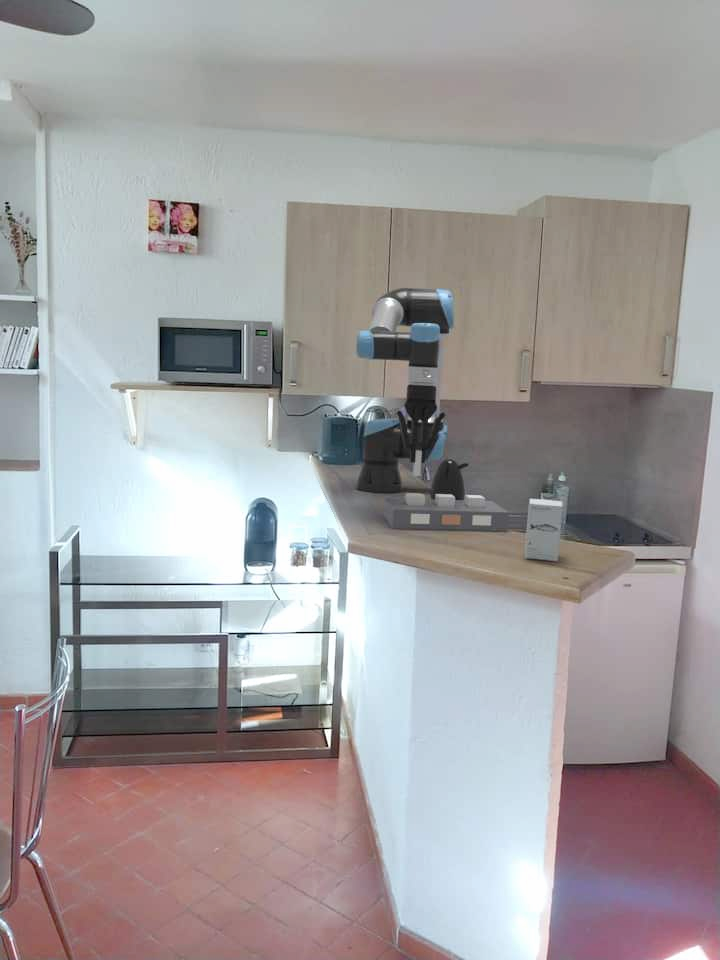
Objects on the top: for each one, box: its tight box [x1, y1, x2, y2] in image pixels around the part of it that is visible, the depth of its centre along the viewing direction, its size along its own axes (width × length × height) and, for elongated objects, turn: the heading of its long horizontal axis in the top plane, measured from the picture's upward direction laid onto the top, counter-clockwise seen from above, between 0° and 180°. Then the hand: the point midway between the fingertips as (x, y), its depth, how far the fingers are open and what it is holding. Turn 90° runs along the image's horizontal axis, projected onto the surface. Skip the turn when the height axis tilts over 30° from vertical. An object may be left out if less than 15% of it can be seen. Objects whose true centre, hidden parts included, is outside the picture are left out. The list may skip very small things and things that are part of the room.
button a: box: [404, 492, 426, 506], centre depth 208 cm, size 4×4×4 cm
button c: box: [464, 494, 486, 508], centre depth 210 cm, size 4×4×4 cm
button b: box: [435, 494, 455, 507], centre depth 209 cm, size 4×4×4 cm
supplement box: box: [524, 498, 564, 563], centre depth 177 cm, size 7×7×13 cm
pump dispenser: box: [429, 458, 469, 500], centre depth 227 cm, size 10×10×15 cm
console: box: [382, 497, 510, 532], centre depth 209 cm, size 16×30×5 cm, turn 96°
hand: (416, 475), depth 207 cm, fingers closed
